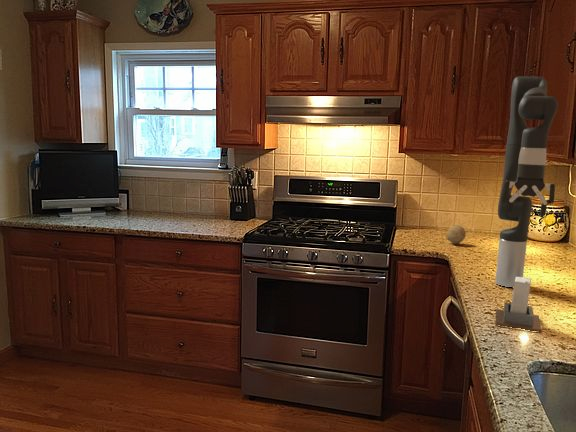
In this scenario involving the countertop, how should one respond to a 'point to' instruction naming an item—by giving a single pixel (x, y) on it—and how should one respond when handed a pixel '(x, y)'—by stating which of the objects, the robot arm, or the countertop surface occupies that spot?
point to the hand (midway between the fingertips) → (526, 215)
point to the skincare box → (520, 295)
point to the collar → (518, 319)
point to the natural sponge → (456, 234)
